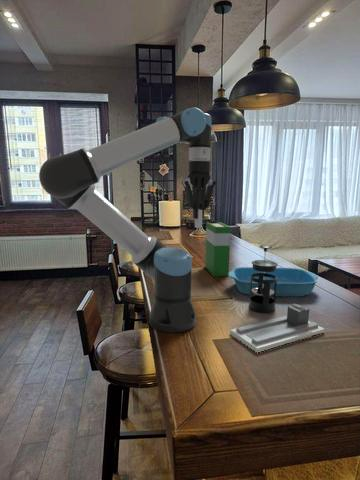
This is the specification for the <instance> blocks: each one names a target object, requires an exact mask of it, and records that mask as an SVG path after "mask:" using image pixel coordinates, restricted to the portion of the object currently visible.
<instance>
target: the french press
mask: <svg viewBox="0 0 360 480" xmlns="http://www.w3.org/2000/svg"><path fill="white" fill-rule="evenodd" d="M259 248H261V249H263V252H264V257H263V258H264V259H255V260H251V264H252V267H253V269H254V270H256V271H261V272H264V273H253V274H251V284H250V295H249V303H248V309H249V310H251V311H253V312H255V313H259V314H271V312H272V313H274V312H275V311H276V297H277V296H276V284H277V277H276V276H275V275H273V274H269V273H265V272H273V271H276V268H277V267H278V265H279V263H278V262H276V261H274V260H267V259H266V256H267V250H268V249H272V246H270V245H266V244H265V245H260V246H259ZM256 276H259V279H256V278H254V277H256ZM264 276H265V277H270V278H273V280H264ZM252 281H254V282H257V283H258V287H257V288H253V289H252ZM272 283H275V287H274V290H272V289H270V284H272ZM251 293H252V294H254V295H251ZM273 295H274V296H273Z"/></svg>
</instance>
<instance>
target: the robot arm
mask: <svg viewBox="0 0 360 480" xmlns="http://www.w3.org/2000/svg"><path fill="white" fill-rule="evenodd" d="M212 129H213V126H212V116H211V114H209V113H206V112H204V111H203V110H201V109H200V108H198V107H190V108H189V107H188V108H186V109H184V110H182V111H180V112H178V113H176V114H173V115H171V116H169V117H168V116H160V117H157V119H156V121H155V122H154V123H151V124H149V125H146V126H144V127H142V128H140V129H137V130H134V131H132V132H130V133H129V132H128V133H127V134H125V135H122V136H120V137H118V138H115V139H113V140H110V141H107V142H105V143H103V144H100V145H98V146H95V147H93V148H90V149H86V148H80V149H78V150H74V151H71V152H68V153H65V154H60V155H55V156H52V157H49V158H48V159H46V160H45V161H44V162H43V164H42V165H41V166H40V169H39V174H38V178H39V179H38V180H39V182H40V185H41V187H42V188H43V190H44V191H45V192H46V193H47V194H48V195H50V196H51V197H54V198H55V200H57V201H58V202H59V203H61V204H62V205H63V206H64V207H66V208H67V209H68V210H76V211H78V212H79V213H80V214H81V215H82V216H84V217H85V218H87V219H88V220H89V221H90V222H91V223H92V224H93V225H95V226H96V227H97V228H98V229H99V230H101V231H102V232H103V233H104V234H105V235H107V237H109V238H110V239H111V240H112V241H113V242H115V243H116V244H117V245H119V246H120V247H121V248H122V249H123V250H124V251H126V253H128V254H129V255H130V256H131V262H132V263H133V264H134V265H135V266H136V267H137V268H139V269H140V270H141V271H143V273H145V274H146V275H147V276H148V277H149V278H150V279H151V280H152V281H153V283H154V284H153V285H154V289H153V291H154V293H153V294H154V297H153V298H154V300H153V303H152V306H151V308H150V312H149V315H148V324H149V326H150V327H151V328H152V329H154V330H156V331H159V332H163V333H182V332H183V333H184V332H187V331H189V330H191V329H192V328H194V327H195V325H197V316H196V315H197V314H196V312H195V308H194V306H193V303H192V268H193V263H192V256H191V254H190V253H189V252H188V251H187V250H185V249H182V248H178V247H167V246H166V245H164V244H163V243H162V242H161V240H159V239H158V238H157V237H156V236H148V235H147V234H146V233H145V232H143V230H141V229H140V228H139V227H138V226H137V225H136V224H135V223H133V222H132V221H131V220H130V219H129V218H128V217H127V216H126V215H125V214H124V213H123V212H121V211H120V210H119V209H118V208H117V207H116V206H115V205H113V203H112V202H110V200H108V199H107V198H106V197H105V196H104V195H103V194H101V192H99V191H98V190H97V189H96V187H95V184H97V183H99V182H100V180H101V178H102V177H104V176H106V175H108V174H110V173H112V172H114V171H117V170H120V169H121V168H124V167H126V166H128V165H130V164H133V163H135V162H137V161H139V160H142V159H144V158H147V157H149V156H151V155H153V154H155V153H158V152H160V151H162V150H164V149H167V148H169V147H171V146H173V145H175V144H178V143H189V144H188V160H189V162H188V173H189V174H188V175H187V179H185V180H183V181H182V182H181V184H182V187H184V192H185V196H186V197H185V198H186V203H187V207H188V208H189V209H192V218H193V219H194V228H196V229H203V219H205V211H206V209H207V208H208V209H209V207H210V204H211V200H212V197H213V196H212V195H213V191H214V188H215V186H216V184H217V181H214V180H212V179H211V178H212V177H211V175H210V172H211V161H210V160H211V154H212V153H211V148H212V147H211V145H212Z"/></svg>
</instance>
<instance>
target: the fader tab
mask: <svg viewBox="0 0 360 480" xmlns="http://www.w3.org/2000/svg"><path fill="white" fill-rule="evenodd" d="M286 316H287V322H288V323H290V324H292V325H294V326H299V325H303V324H306V323H308V321H309V316H310V308H308V307H305V306H303V305H301V304H296V303H293V304H292V305H289V306H287V315H286Z"/></svg>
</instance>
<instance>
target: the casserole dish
mask: <svg viewBox="0 0 360 480" xmlns="http://www.w3.org/2000/svg"><path fill="white" fill-rule="evenodd" d="M253 273H264V272H261V271H256V270H254V269H253V266H252V267H251V266H250V267H249V266H243V267H235V268H233V269H232V270H230V271H229V273H228V275H229V276H228V277H229V278H230V279H233V281H234V282H235V286H236V287H237V289H238V291H239V292H240V293H241V294H244V295H248V296H250V284H251V274H253ZM265 273H269V274H273V275H275V276H276V277H277V284H276V297H306V296H308V295H310V294H311V293H312V292H313V290H314V288H315V285H316V283H317V280H318V279H319V275H317V274H315V273H314V272H310V271H307V270H305V269H301V268H296V267H295V268H293V267H276V271H273V272H265ZM254 278H256V279H259V276H256V277H254ZM264 280H273V278H270V277H265V276H264ZM257 287H258V283H257V282H254V281H252V289H253V288H257ZM274 287H275V283H272V284H270V289H272V290H274ZM305 295H306V296H305ZM251 296H254V294H252V293H251ZM272 297H274V295H273V296H272Z"/></svg>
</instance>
